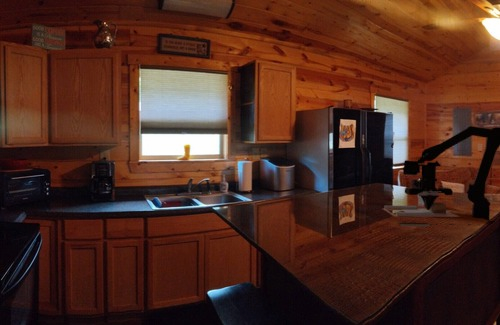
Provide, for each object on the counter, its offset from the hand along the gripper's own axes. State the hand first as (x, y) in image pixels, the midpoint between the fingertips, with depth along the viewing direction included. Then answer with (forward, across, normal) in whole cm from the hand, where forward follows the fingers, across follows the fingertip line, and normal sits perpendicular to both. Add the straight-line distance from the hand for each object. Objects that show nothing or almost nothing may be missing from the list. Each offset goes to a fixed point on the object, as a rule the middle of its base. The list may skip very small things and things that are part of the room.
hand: (427, 210), depth 147 cm
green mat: (+3, +14, +14) cm, 20 cm away
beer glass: (+3, -6, -16) cm, 17 cm away
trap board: (+3, +4, 0) cm, 4 cm away
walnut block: (+1, -4, 0) cm, 4 cm away
